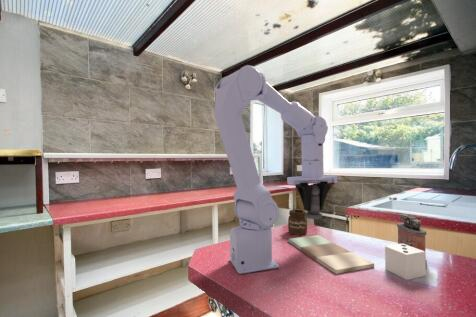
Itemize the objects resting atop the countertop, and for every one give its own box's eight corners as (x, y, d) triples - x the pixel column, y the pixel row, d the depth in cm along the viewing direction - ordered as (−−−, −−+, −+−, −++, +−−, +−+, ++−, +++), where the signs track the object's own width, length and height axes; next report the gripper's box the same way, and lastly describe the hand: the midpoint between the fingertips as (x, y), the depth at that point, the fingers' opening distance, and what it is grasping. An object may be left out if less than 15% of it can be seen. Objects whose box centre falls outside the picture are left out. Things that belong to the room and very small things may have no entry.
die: (406, 279, 49) (406, 254, 49) (385, 269, 54) (385, 245, 54) (425, 275, 51) (425, 251, 51) (403, 265, 55) (402, 243, 55)
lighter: (431, 265, 55) (430, 220, 55) (415, 265, 55) (415, 221, 55) (407, 251, 63) (406, 212, 63) (393, 251, 63) (393, 212, 63)
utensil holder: (288, 229, 84) (287, 194, 84) (307, 230, 83) (306, 194, 83) (288, 235, 78) (287, 197, 78) (308, 236, 77) (308, 197, 77)
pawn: (302, 215, 70) (302, 183, 70) (316, 214, 71) (316, 183, 71) (310, 219, 66) (310, 185, 66) (325, 218, 67) (325, 185, 67)
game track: (335, 273, 52) (335, 270, 52) (288, 241, 72) (288, 238, 72) (374, 267, 55) (374, 263, 55) (318, 237, 75) (317, 235, 75)
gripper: (295, 161, 63) (296, 215, 63) (344, 160, 67) (345, 210, 67) (283, 160, 69) (284, 209, 70) (328, 159, 73) (328, 205, 74)
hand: (313, 209), depth 69 cm, fingers closed on pawn, 3 cm apart
